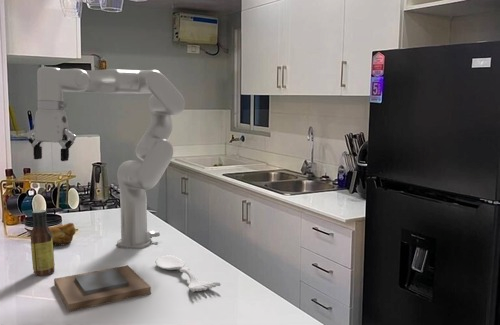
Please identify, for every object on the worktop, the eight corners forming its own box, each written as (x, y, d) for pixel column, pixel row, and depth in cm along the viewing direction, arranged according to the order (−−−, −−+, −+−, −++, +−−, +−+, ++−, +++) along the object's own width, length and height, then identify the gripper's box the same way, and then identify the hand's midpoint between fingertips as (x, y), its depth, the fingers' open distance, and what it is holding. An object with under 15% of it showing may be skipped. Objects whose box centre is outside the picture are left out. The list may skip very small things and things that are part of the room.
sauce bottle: (59, 270, 149) (56, 209, 146) (44, 277, 143) (41, 214, 140) (42, 268, 151) (39, 207, 148) (27, 274, 145) (24, 212, 142)
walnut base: (127, 271, 149) (127, 262, 149) (150, 293, 133) (150, 283, 132) (54, 285, 137) (53, 275, 137) (69, 311, 121) (68, 300, 120)
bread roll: (43, 250, 168) (42, 229, 167) (33, 244, 175) (32, 223, 174) (78, 243, 177) (77, 223, 176) (68, 237, 184) (67, 217, 183)
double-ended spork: (193, 300, 129) (193, 288, 129) (151, 265, 156) (151, 254, 155) (221, 293, 134) (221, 282, 134) (176, 260, 161) (176, 250, 160)
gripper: (81, 107, 151) (81, 160, 153) (34, 105, 155) (35, 157, 157) (68, 107, 144) (68, 162, 146) (18, 105, 148) (19, 159, 150)
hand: (51, 159), depth 151 cm, fingers open, 9 cm apart
